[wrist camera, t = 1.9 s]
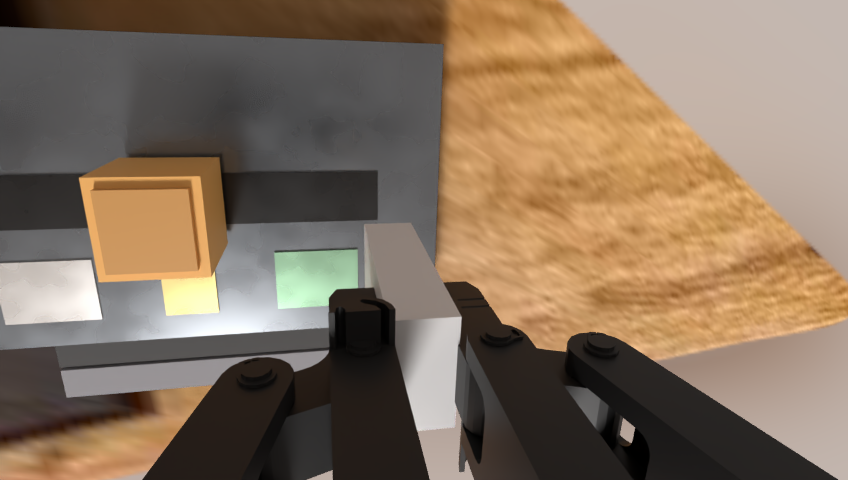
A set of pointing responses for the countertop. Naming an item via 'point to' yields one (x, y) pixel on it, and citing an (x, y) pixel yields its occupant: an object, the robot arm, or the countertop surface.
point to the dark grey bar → (191, 347)
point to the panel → (239, 163)
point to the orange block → (155, 218)
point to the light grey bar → (170, 372)
